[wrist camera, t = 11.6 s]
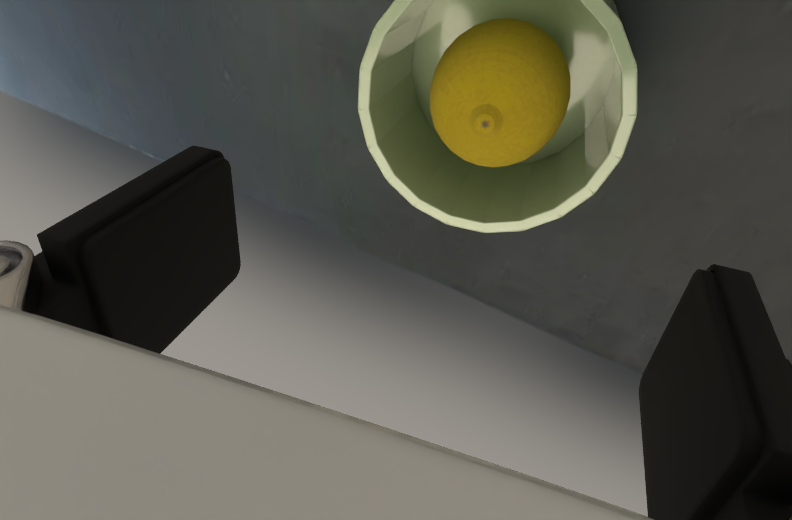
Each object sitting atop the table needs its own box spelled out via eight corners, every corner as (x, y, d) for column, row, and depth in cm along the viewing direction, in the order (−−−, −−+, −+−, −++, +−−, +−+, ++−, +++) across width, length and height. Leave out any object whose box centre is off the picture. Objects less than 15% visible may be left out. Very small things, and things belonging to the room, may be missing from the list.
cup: (660, -41, 21) (686, -25, 16) (587, 186, 27) (587, 256, 22) (417, -69, 23) (365, -64, 18) (397, 148, 29) (352, 203, 24)
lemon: (501, 150, 27) (475, 223, 20) (428, 65, 26) (377, 114, 19) (598, 76, 24) (603, 135, 17) (520, -25, 23) (495, -2, 16)
